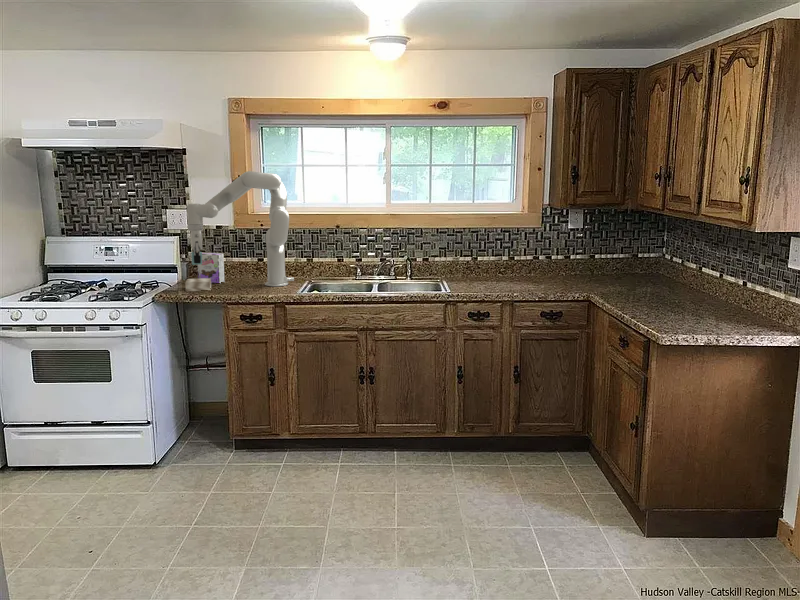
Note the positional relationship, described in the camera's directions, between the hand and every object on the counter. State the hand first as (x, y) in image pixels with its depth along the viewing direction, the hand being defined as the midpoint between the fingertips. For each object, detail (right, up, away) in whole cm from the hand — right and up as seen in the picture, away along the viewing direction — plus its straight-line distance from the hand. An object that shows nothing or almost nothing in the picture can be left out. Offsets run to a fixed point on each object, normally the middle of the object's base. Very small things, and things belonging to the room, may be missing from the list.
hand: (197, 262), depth 341 cm
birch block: (0, -14, +3) cm, 15 cm away
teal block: (0, -1, 0) cm, 1 cm away
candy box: (+1, -10, +24) cm, 26 cm away
